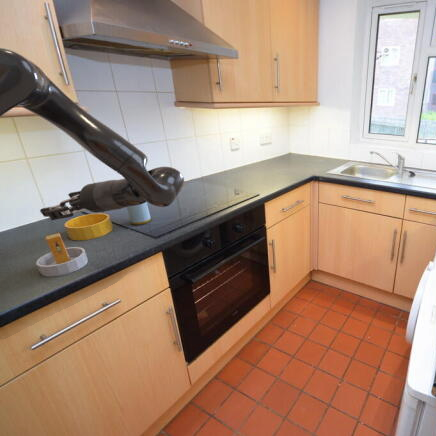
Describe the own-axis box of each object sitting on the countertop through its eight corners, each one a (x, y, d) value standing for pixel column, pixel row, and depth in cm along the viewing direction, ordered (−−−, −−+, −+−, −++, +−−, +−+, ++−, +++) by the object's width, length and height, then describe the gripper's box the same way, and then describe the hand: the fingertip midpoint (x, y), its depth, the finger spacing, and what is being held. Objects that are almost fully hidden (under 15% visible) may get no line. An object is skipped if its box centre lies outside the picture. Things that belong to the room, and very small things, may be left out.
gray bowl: (65, 278, 85) (61, 267, 83) (30, 275, 86) (25, 265, 84) (97, 257, 95) (93, 248, 94) (65, 255, 96) (61, 246, 95)
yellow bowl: (93, 241, 105) (89, 228, 103) (59, 239, 106) (54, 226, 104) (121, 225, 117) (117, 214, 115) (90, 224, 118) (86, 212, 116)
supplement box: (71, 260, 92) (60, 232, 88) (72, 265, 90) (60, 236, 86) (57, 264, 90) (45, 235, 86) (58, 269, 88) (45, 239, 84)
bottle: (143, 217, 125) (134, 183, 119) (154, 220, 122) (146, 185, 116) (127, 223, 119) (117, 187, 113) (138, 226, 116) (128, 190, 110)
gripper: (119, 171, 80) (70, 180, 83) (76, 196, 68) (21, 205, 71) (134, 195, 84) (87, 203, 87) (96, 223, 72) (43, 231, 75)
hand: (57, 204), depth 79 cm, fingers open, 8 cm apart
